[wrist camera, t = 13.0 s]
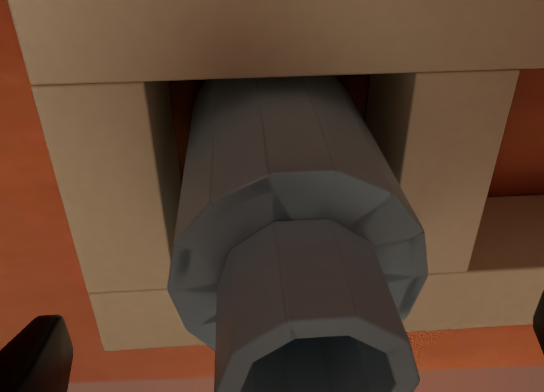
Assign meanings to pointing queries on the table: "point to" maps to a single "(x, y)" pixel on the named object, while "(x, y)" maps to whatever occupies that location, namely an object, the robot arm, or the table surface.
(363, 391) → the bottle
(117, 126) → the hole block
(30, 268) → the table surface
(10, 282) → the table surface
